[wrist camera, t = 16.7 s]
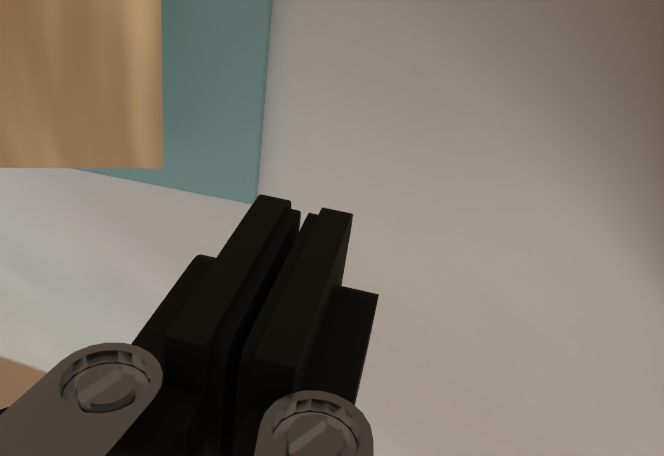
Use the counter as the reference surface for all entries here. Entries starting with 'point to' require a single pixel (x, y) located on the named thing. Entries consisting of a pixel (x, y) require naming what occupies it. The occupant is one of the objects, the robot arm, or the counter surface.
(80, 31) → the domino
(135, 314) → the counter surface
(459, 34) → the counter surface
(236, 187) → the board
